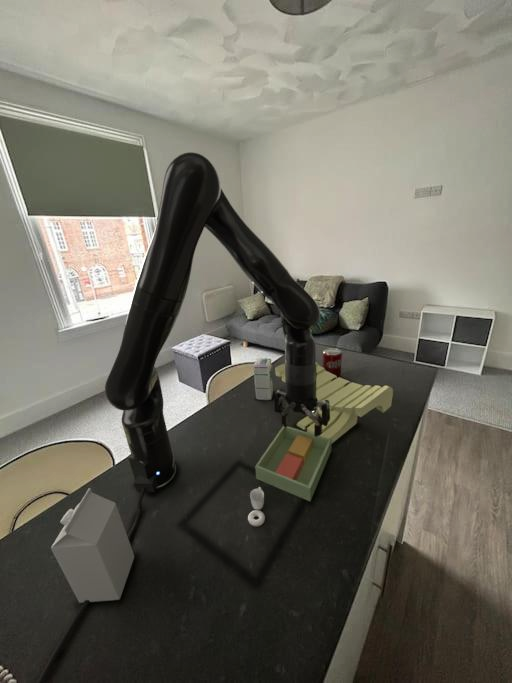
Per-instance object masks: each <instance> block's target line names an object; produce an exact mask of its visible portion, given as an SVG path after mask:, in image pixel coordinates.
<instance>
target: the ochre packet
mask: <svg viewBox="0 0 512 683" xmlns="http://www.w3.org/2000/svg"><path fill="white" fill-rule="evenodd" d="M312 448H313V439H311V438H308V437H304V436H301V435H297V437H296V439H295V440H294V442H293V444H292V445H291V447H290V449H289V450H288V454H290V455H293V456H295V457H298V458H301V459H302V463H303V465H304V464H305V462H306V460H307V458H308V456H309V454H310V452H311V450H312Z"/></svg>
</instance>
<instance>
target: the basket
mask: <svg viewBox="0 0 512 683" xmlns="http://www.w3.org/2000/svg"><path fill="white" fill-rule="evenodd" d="M297 435H301V436H304V437H308V438H311V439H313V448H312V450H311V452H310V454H309V456H308V458H307V460H306V462H305V464H304V465H303V468H302V470H301V472H300V474H299V476H298V478H297V480H293V479H290V478H288V477H285V476H283V475H280V474H278V473H275V472H276V471H277V469H278V467H279V466H280V464H281V462H282V460H283V459H284V457H285V455H286V454H288V450H289V449H290V447H291V445H292V444H293V442H294V440H295V439H296V437H297ZM331 442H332V440H331V439H328V438H325V437H321V436H318V437H316V436H314V434H311V433H308V432H307V431H306V430H301V429H298V428H295V427H291V426H289V425H288V426H287V428H286V427H284V425H283V426H282V427H281V428H280V430H279V431H278V433H277V434H276V436H275V437H274V439H273V440H272V441H271V443H270V444H269V445H268V447H267V449H266V450H265V452H263V454H262V455H261V457H260V459H259V460H258V462H257V463H256V464H255V466H254V470H255V479H256V480H259V481H261V482H263V483H265V484H267V485H270V486H272V487H275V488H277V489H279V490H282V491H284V492H286V493H288V494H291V495H294V496H295V497H298V498H301V499H303V500H304V501H305V500H306V501H308V502H311V501H312V498H313V496H314V494H315V491H316V489H317V487H318V484H319V482H320V479H321V477H322V474H323V472H324V469H325V467H326V465H327V462H328V460H329V458H330V455H331V452H332V444H331Z"/></svg>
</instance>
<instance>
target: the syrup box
mask: <svg viewBox="0 0 512 683" xmlns="http://www.w3.org/2000/svg"><path fill="white" fill-rule="evenodd" d="M252 367H253V368H252V370H253V379H254V389H255V399H256V400H260V401H269V400H270V401H272V398H273V396H274V381H273V367H272V359H271V358H265V357H263V358H255V361H254V362H253V365H252Z"/></svg>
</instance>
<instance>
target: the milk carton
mask: <svg viewBox="0 0 512 683" xmlns="http://www.w3.org/2000/svg"><path fill="white" fill-rule="evenodd" d="M59 523H60V524H61V525H63V527H62V529H61V530H60V532H59V534H58V536H57V537H56V538H55V540H54V542H53V543H52V545H51V547H50V550H51V552H52V554H53V555H54V557H55V560H56V561H57V563H58V565H59V567H60V569H61V571H62V573H63V575H64V577H65V578H66V581H67V582H68V584H69V586H70V588H71V590H72V592H73V594H74V596H75V598H76V600H77V601H78V603H79V604H83V603H84V601H85V600H89V601H90V602H89V603H95V602H96V603H97V602H107V601H108V602H109V601H119V600H121V597H122V594H123V592H124V589H125V586H126V583H127V579H128V577H129V574H130V571H131V569H132V565H133V562H134V559H135V554H134V551H133V548H132V546H131V542H130V540H128V537H127V536H128V534H127V532H126V528H125V525H124V523H123V521H122V517H121V514H120V511H119V509H118V505H117V503H116V502H114V501H112V500H110V499H108V498H105V497H103V496H101V495H99V494H96V493H94V492H92V489H91V488H90V487H89V488H88V489H87V490H86V492H85V493H84V495H83V497H82V498H81V500H80V502H79V503H78V504H77V505H76V506H75V507H74V509H73V508H69V509H68V510H67V511H66V512H65V513H64V514H63V517H62V518H61V520H60V522H59Z"/></svg>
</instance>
